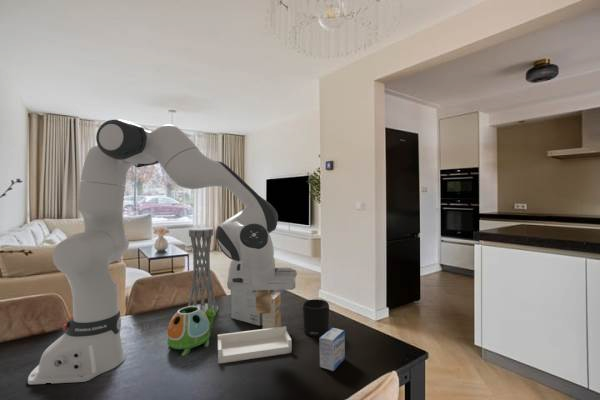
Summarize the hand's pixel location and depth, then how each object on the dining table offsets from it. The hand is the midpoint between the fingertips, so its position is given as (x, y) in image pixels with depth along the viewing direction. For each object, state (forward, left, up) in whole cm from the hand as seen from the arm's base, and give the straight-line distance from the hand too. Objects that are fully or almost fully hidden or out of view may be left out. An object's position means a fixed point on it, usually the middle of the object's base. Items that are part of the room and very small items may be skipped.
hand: (263, 292), depth 97 cm
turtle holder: (-22, +11, -18) cm, 31 cm away
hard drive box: (-1, +26, -18) cm, 32 cm away
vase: (-20, +40, -18) cm, 48 cm away
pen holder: (+20, +8, -18) cm, 28 cm away
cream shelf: (-3, 0, -18) cm, 18 cm away
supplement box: (+5, +13, -18) cm, 23 cm away
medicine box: (+18, -13, -18) cm, 29 cm away
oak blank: (0, -1, -6) cm, 6 cm away
